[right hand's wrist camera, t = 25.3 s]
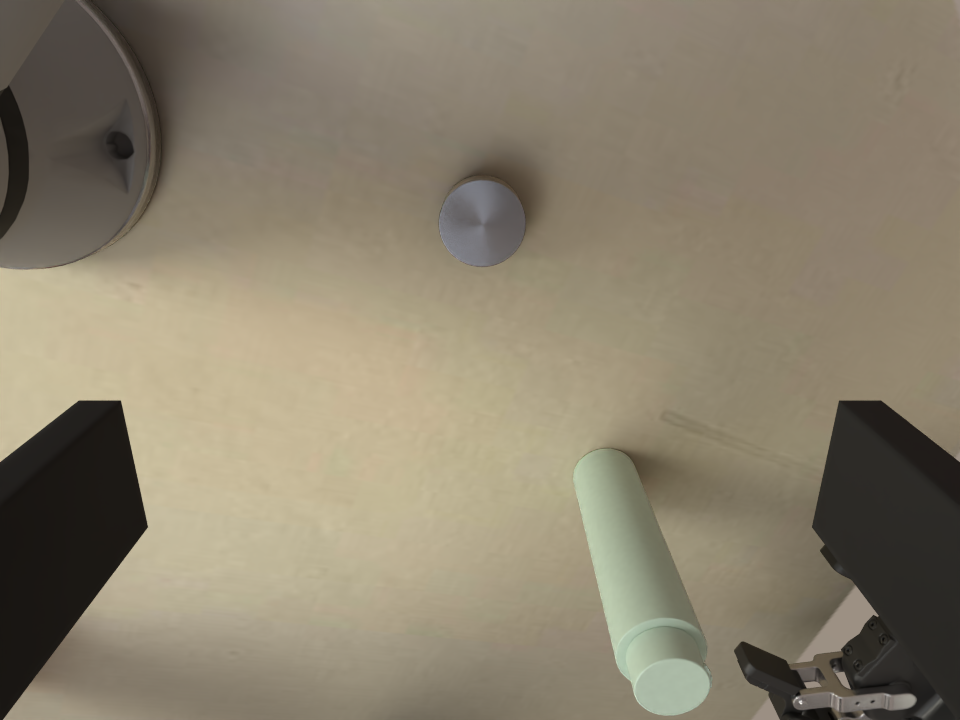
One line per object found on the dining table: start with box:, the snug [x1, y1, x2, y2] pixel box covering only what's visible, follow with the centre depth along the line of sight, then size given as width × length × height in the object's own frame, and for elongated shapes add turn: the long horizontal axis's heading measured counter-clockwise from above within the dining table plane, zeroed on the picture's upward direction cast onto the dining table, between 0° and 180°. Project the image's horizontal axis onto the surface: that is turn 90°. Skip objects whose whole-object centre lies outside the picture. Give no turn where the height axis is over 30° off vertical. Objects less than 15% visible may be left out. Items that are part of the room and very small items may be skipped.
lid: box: [439, 175, 526, 267], centre depth 37 cm, size 5×5×2 cm
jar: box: [573, 448, 712, 716], centre depth 36 cm, size 4×4×17 cm
